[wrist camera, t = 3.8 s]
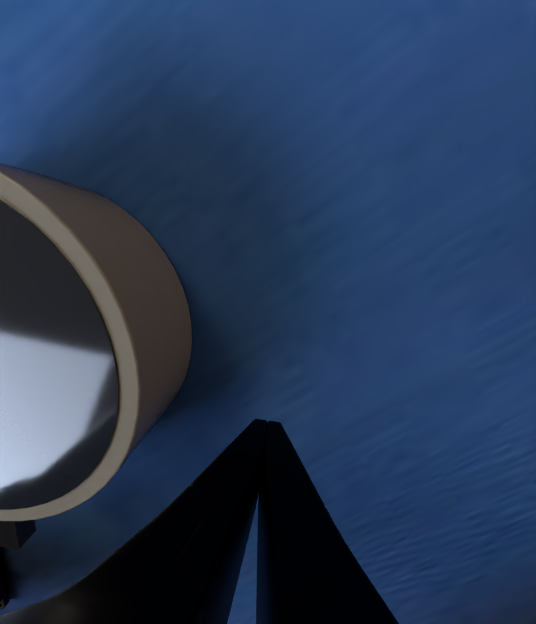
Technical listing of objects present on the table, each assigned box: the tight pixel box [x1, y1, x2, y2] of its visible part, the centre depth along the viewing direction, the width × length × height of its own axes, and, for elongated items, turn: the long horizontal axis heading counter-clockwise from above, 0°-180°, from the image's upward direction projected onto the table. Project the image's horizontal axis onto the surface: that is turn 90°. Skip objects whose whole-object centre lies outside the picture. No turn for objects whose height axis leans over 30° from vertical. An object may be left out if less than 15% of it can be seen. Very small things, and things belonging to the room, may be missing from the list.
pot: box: [0, 163, 192, 550], centre depth 13 cm, size 16×21×6 cm
